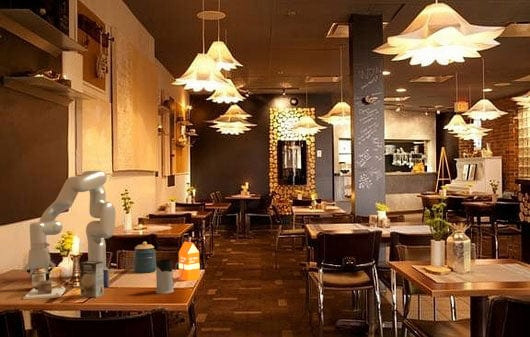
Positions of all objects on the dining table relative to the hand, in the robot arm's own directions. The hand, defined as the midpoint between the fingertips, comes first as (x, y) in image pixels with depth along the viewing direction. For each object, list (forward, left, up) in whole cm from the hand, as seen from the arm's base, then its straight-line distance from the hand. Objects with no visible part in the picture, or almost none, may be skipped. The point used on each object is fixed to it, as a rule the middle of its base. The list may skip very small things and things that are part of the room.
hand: (40, 281), depth 272 cm
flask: (-30, +4, -4) cm, 31 cm away
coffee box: (-28, +25, -4) cm, 38 cm away
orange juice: (-76, -2, -4) cm, 76 cm away
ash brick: (0, +1, -1) cm, 1 cm away
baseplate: (-5, +16, -4) cm, 17 cm away
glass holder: (-65, +25, -4) cm, 70 cm away
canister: (-51, -32, -4) cm, 61 cm away
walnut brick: (-5, +15, -3) cm, 17 cm away
